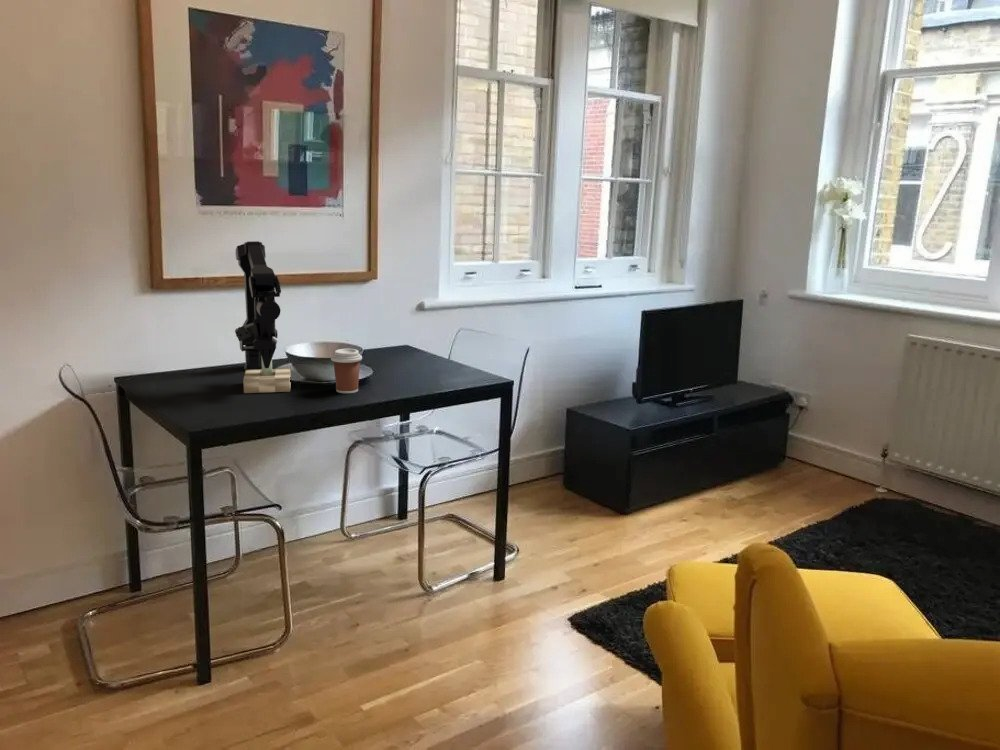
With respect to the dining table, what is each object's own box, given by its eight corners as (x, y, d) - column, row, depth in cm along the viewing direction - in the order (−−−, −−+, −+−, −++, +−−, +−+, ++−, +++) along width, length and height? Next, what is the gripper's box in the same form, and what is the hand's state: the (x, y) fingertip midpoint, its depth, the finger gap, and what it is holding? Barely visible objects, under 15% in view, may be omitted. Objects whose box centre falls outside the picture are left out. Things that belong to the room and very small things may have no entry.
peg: (262, 375, 251) (261, 346, 249) (272, 375, 252) (271, 345, 249) (262, 378, 248) (260, 348, 246) (272, 377, 249) (271, 348, 247)
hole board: (246, 382, 255) (245, 369, 254) (290, 381, 258) (290, 368, 257) (244, 393, 243) (243, 379, 242) (290, 391, 246) (289, 378, 245)
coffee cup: (365, 387, 253) (364, 348, 250) (359, 395, 245) (359, 354, 242) (335, 386, 254) (334, 347, 251) (328, 394, 245) (327, 353, 242)
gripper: (238, 309, 252) (240, 360, 256) (233, 321, 235) (236, 375, 238) (276, 309, 255) (278, 359, 259) (274, 320, 237) (276, 374, 241)
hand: (267, 366), depth 249 cm, fingers closed on peg, 3 cm apart
